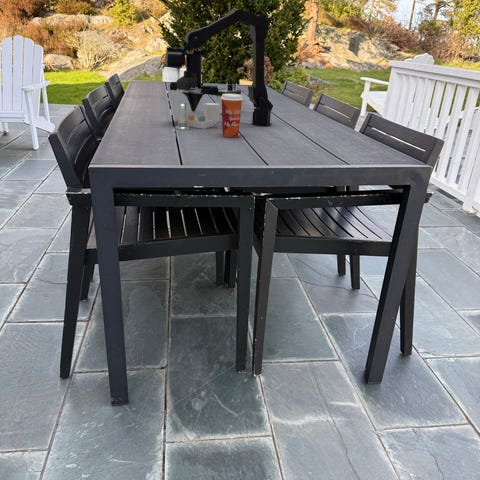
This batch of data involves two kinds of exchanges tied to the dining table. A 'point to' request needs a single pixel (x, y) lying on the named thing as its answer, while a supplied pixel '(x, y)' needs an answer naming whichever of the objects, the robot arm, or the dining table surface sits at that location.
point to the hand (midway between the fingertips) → (193, 111)
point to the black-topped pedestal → (226, 91)
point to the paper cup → (231, 114)
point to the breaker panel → (199, 122)
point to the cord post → (182, 117)
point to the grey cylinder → (212, 111)
